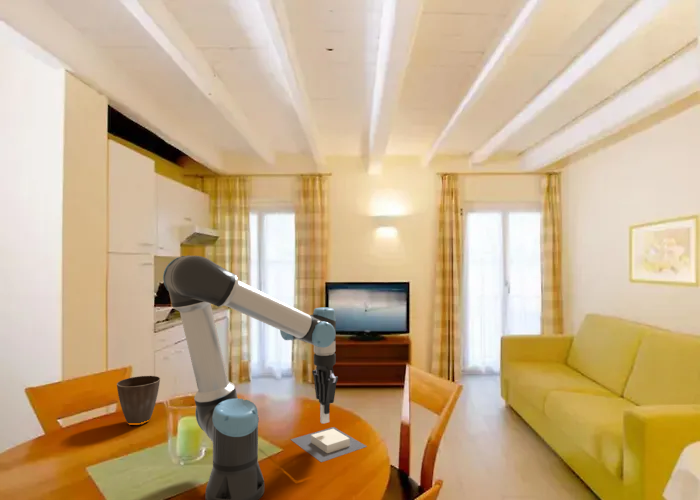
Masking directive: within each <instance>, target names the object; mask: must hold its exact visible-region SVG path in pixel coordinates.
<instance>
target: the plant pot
mask: <svg viewBox="0 0 700 500" xmlns="http://www.w3.org/2000/svg"><path fill="white" fill-rule="evenodd" d="M160 381H161V377H160V376H156V375H141V376H140V375H139V376H133V377H129V378H124V379H122V380H119V381H118V382H117V383H116V387H117V395H118V399H119V403H120V407H121V410H122V413H123V416H124V418H125V421H126V423H127V422H128V423H141V422H144V421H147V420H149V419H150V420H151V418H152V415H153V414H154V413H153V412H154V409H155V406H156V402H157V398H158V393H159V390H160V389H159V388H160ZM128 423H127V424H128Z"/></svg>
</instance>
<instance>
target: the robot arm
mask: <svg viewBox="0 0 700 500" xmlns="http://www.w3.org/2000/svg"><path fill="white" fill-rule="evenodd" d="M162 280H163V285H164V286H165V288H166V290H167V291H168V293H169V298H170V302H171V307H172V308H173V309H174V310H176V311H178V312H179V313H180V318H181V324H182V328H183V331H184V332H183V333H184V336H185V340H186V344H187V349H188V352H189V353H188V354H189V357H190V361H191V365H192V369H193V373H194V378H195V382H196V387H197V392H196V393H195V395H194V403H195V420H196V422H197V424H198V425H197V426H199V428H200V429H201V430H202V431H203V432H204V433H205V434H206V436H207V437H208V438H209V439H210V441H211V442H212V468H211V472H210V475H209V478H208V481H207V484H206V487H205V500H260V499H261V498H262V497H263V495H264V493H265V479H264V476H263V472H262V470H261V468H260V463H259V459H258V458H259V456H258V455H259V454H258V453H259V422H260V421H259V414H258V413H259V411H258V407H257V406H256V404H255V403H254V402H253V401H251V400H248V399H243V398H238V394H237V390H236V389H237V388H236V386H235V383H233V382H231V381H229V379H228V374H227V369H226V366H225V365H226V364H225V361H224V357H223V353H222V352H223V351H222V348H221V343H220V340H219V336H218V331H217V327H216V321H215V317H214V314H213V307H212V305H213V306H215V307H218V308H221V307H224V306H225V307H228V308H229V309H232V310H234V311H237V312H238V313H241V314H243V315H245V316H248V317H250V318H253V319H254V320H257V321H259V322H262V323H263V324H265V325H268V326H271V327H272V328H275V329H277V330H279V333H280V336H281V338H282V339H283V340H284V341H294V340H298V341H301V342H304V343H308V344H310V345H313V353H314V354H313V365H314V366H315V369H313V370H312V371H311V373H312V377H313V381H314V390H315V399H316V400H318V403H319V411H320V414H319V415H320V417H319V419H320V422H319V423H321V424H327V423H330V412H331V411H330V405H331V404H333V403H334V402H335V394H336V389H337V387H336V386H337V383H338V380H339V377H338V376H335V373H334V368H333V367H334V366H335V365H336V362H337V361H336V357H337V356H336V353H335V352H336V336H337V335H336V332H337V331H336V326H337V325H336V322H337V320H336V311H335V309H334V308H332V307H316V308H314V309H313V313H312V314H308V313H306V312H304V311H302V310H300V309H298V308H296V307H294V306H292V305H290V304H288V303H286V302H283V301H281V300H279V299H278V298H275V297H273V296H271V295H269V294H268V293H265V292H263V291H261V290H259V289H257V288H255V287H253V286H251V285H249V284H247V283H245V282H243V281H241V280H239V279H238V277H237V274H235V273H233V272H231V271H229V270H227V269H226V268H224V267H223V266H220V265H219V264H217V263H216V262H214V261H212V260H210V259H209V258H207V257H204V256H200V255H181V256H178V257H176V258H174V259H173V260H171V261H170V262H169V263H168V264H167V265H166V267H165V269H164V271H163V276H162Z"/></svg>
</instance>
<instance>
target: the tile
mask: <svg viewBox="0 0 700 500" xmlns="http://www.w3.org/2000/svg"><path fill="white" fill-rule="evenodd" d="M311 443H313V444H314V445H316V446H317V447H318V448H320V449H321V450H323V451H324V452H326V453H330V452H333V451H336V450H339V449H342V448H345V447H348V446H350V438H348V437H347V436H345V435H343V434H342V433H340V432H338V431H336V430H335V429H330V430H326V431H323V432H319V433H316V434H313V435H311Z"/></svg>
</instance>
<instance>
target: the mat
mask: <svg viewBox="0 0 700 500" xmlns="http://www.w3.org/2000/svg"><path fill="white" fill-rule="evenodd" d="M330 429H335V430H336V431H338V432H340V433H342V434H343V435H345V436H347V437H348V438H350V446H348V447H345V448H342V449H339V450H336V451H333V452H330V453H326V452H324V451H323V450H321V449H320V448H318V447H317V446H316V445H314V444H313V443H311V435H313V434H316V433H319V432H323V431H326V430H330ZM290 441H292V442H293V443H294V444H296V445H297V446H299V447H300V448H301V449H302V450H303V451H305V452H306V453H308V454H309V455H311V456H312V457H313V458H315V459H316V460H317V461H319V462H320V463H323V462H326V461H329V460H332V459H335V458H338V457H341V456H343V455H344V456H345V455H347V454H350V453H354V452H356V451H359V450H361V449H365V448H367V447H368V446H367V445H366V444H364V443H362V442H360V441H359V440H357V439H355V438H354V437H352V436H351V435H348V434H347V433H345V432H343V431H341V430H339V429H338V428H337V427H335V426H333V427H332V426H331V427H329V428H325V429H322V430H318V431H316V432H311V433H308V434H304V435H300V436H298V437H293V438H290Z"/></svg>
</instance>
